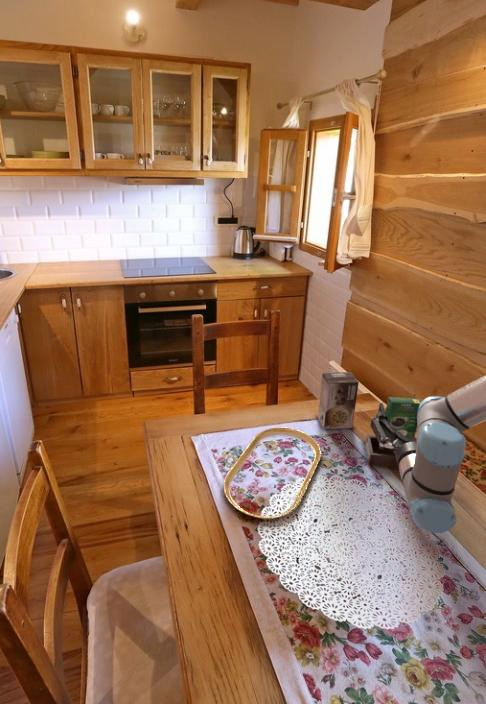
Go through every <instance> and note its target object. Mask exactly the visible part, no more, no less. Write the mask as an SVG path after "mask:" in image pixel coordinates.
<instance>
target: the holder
mask: <svg viewBox="0 0 486 704" xmlns="http://www.w3.org/2000/svg"><path fill="white" fill-rule="evenodd" d="M364 446H365V451H366V454H367V455H366V457H367V462H368V465H372V466H378V467H384V468H385V467H386V468H392V469H397V470H399V468H398V464H397V461H396V457H395V453H394V452H393V451H392V449H390V448H386V447H385V448H384V450H381V449H380V448H379V442H378V440H377V438H376V436H375V435H372V434H366V438H365V443H364Z"/></svg>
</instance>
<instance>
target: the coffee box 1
mask: <svg viewBox="0 0 486 704" xmlns="http://www.w3.org/2000/svg"><path fill="white" fill-rule="evenodd" d="M359 383H360V382H359V381H358V380H357V378H356V377H355V375H354V374H353V372H351V371H347V372H346V371H345V372H344V371H343V372H322V375H321V383H320V393H319V401H318V412H317V419H318V421H319V423H320V425H321V427H322V429H324V430H331V429H332V430H333V429H353V427H354V419H355V411H356V405H357V396H358V391H359V390H358V389H359Z"/></svg>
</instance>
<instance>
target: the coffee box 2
mask: <svg viewBox="0 0 486 704" xmlns="http://www.w3.org/2000/svg"><path fill="white" fill-rule="evenodd" d="M421 402H422V401H421V400H420V399H419V398H415V397H414V398H413V397H397V396H388V398H387V402H386V408H385V413H386V421H387V422H388V423H389V424H390V425H391V426H392V427H393V428H394V429H395V430H396V431H397V432H400V433H401V434H402V435H403V436H407V437H415V436H416V434H417V412H418V408H419V405H420V403H421ZM385 435H386V434H385ZM386 437H387V438H388V440H389V442H390V443H392V441H391V440H390V439H389V437H388V436H387V435H386ZM415 438H416V437H415Z"/></svg>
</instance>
